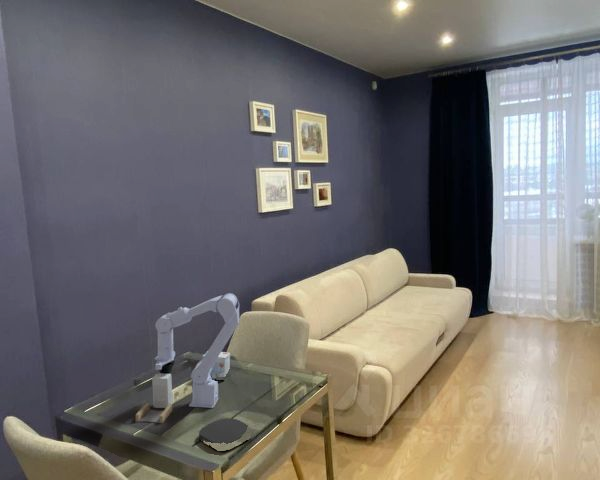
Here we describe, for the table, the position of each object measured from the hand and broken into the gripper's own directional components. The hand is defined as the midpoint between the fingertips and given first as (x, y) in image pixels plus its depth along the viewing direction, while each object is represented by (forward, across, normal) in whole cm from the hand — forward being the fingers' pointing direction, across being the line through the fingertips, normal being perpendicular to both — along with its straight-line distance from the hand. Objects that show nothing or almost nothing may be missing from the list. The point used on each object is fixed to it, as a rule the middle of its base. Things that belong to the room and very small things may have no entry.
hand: (165, 380), depth 169 cm
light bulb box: (+9, -25, +13) cm, 29 cm away
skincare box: (+8, +3, 0) cm, 9 cm away
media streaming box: (+9, +22, +29) cm, 38 cm away
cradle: (+8, +11, 0) cm, 14 cm away
